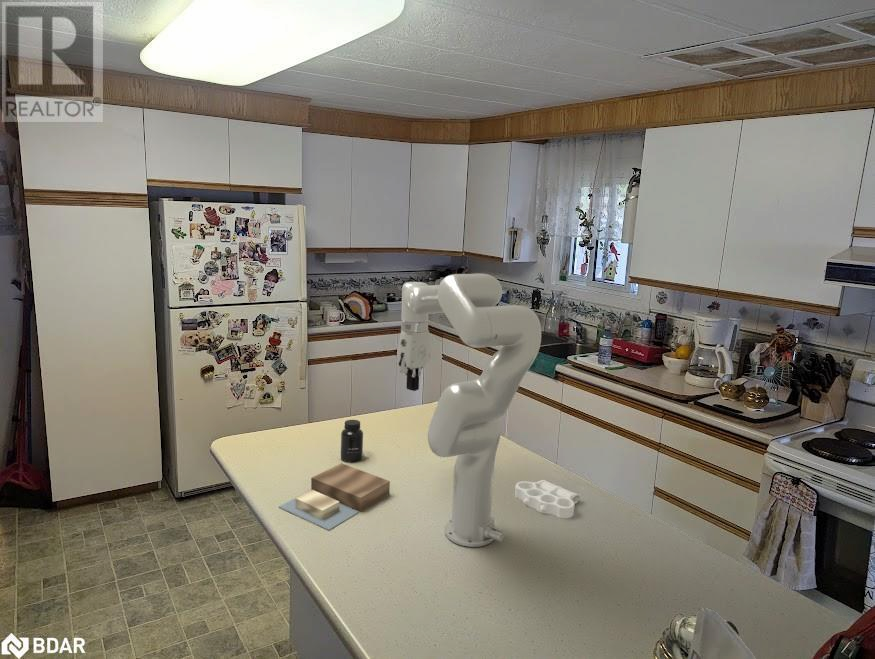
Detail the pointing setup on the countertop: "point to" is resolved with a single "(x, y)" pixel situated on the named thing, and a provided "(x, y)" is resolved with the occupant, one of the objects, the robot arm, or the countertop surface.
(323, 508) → the maple tile
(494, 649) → the countertop surface
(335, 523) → the slate mat
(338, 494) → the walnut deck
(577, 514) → the countertop surface
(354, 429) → the supplement bottle
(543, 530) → the countertop surface
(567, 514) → the knuckle duster
